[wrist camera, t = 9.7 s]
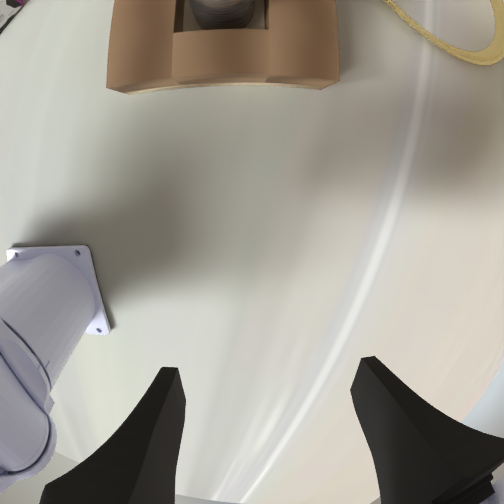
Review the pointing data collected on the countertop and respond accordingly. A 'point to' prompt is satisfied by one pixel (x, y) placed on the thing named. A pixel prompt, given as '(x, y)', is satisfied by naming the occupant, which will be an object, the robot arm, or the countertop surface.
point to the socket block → (222, 47)
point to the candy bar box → (8, 11)
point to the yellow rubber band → (492, 54)
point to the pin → (222, 13)
